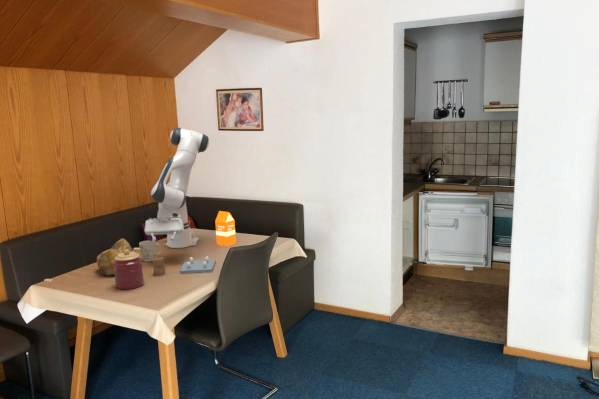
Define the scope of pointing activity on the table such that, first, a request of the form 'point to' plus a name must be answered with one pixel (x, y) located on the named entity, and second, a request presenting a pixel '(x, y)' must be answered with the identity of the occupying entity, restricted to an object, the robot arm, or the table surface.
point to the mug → (148, 250)
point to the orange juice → (225, 229)
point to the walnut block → (158, 266)
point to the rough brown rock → (111, 257)
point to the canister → (128, 270)
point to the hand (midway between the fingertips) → (163, 240)
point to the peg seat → (198, 266)
